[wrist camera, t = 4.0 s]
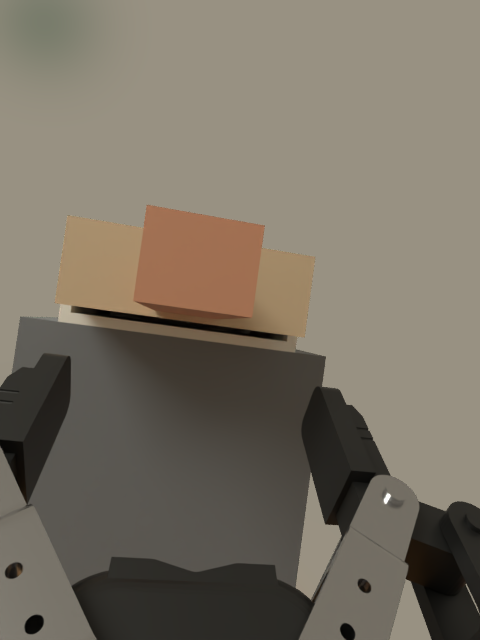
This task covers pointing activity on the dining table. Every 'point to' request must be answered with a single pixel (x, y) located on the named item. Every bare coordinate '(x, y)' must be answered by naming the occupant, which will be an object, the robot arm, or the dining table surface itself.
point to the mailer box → (175, 328)
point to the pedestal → (173, 450)
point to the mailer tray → (117, 273)
